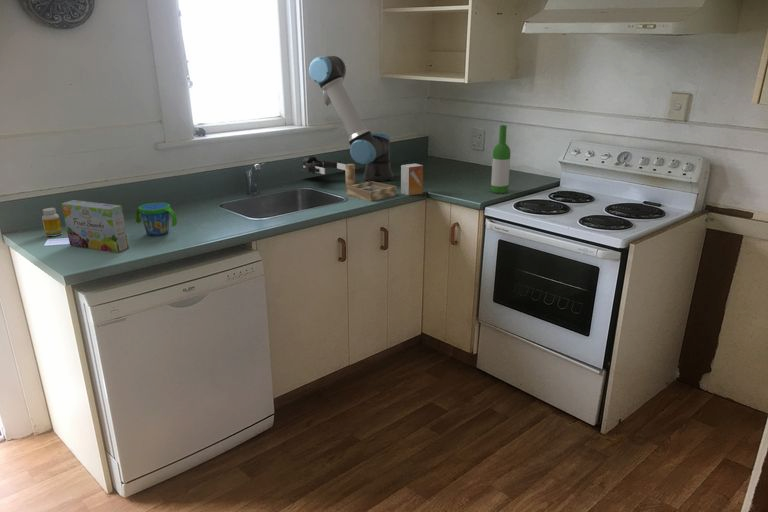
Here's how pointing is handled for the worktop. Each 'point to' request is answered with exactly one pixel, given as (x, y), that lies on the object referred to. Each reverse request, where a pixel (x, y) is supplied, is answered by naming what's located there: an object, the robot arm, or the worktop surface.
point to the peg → (350, 174)
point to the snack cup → (155, 217)
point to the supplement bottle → (51, 222)
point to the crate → (371, 191)
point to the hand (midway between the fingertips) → (335, 169)
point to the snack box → (95, 225)
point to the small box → (411, 179)
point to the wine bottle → (501, 164)
